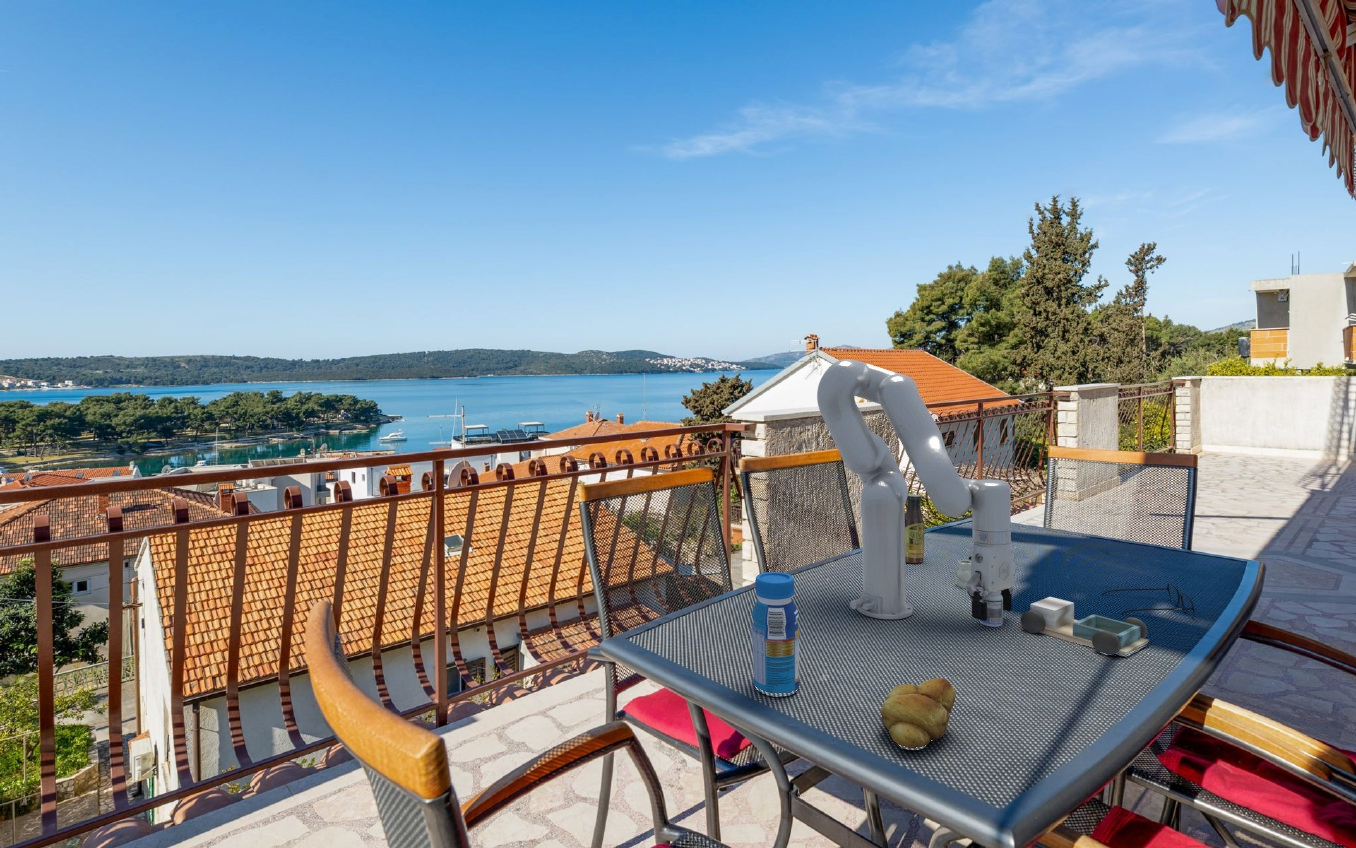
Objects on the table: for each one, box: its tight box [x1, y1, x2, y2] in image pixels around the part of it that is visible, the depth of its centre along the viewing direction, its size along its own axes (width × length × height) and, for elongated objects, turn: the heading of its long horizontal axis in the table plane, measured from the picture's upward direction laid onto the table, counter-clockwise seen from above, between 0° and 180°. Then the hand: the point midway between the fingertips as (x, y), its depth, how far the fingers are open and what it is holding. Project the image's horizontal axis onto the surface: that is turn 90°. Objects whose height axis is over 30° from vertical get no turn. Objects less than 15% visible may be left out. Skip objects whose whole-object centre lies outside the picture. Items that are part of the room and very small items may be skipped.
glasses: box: [1101, 583, 1196, 617], centre depth 149 cm, size 14×15×5 cm
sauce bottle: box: [904, 493, 926, 564], centre depth 190 cm, size 6×6×20 cm
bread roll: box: [880, 677, 957, 748], centre depth 97 cm, size 13×10×8 cm
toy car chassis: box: [1020, 596, 1150, 656], centre depth 133 cm, size 13×20×5 cm, turn 33°
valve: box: [956, 555, 972, 590], centre depth 169 cm, size 7×7×12 cm
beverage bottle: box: [750, 571, 801, 693], centre depth 113 cm, size 8×8×20 cm
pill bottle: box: [978, 586, 1004, 628], centre depth 141 cm, size 5×5×8 cm
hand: (992, 614), depth 141 cm, fingers open, 9 cm apart
